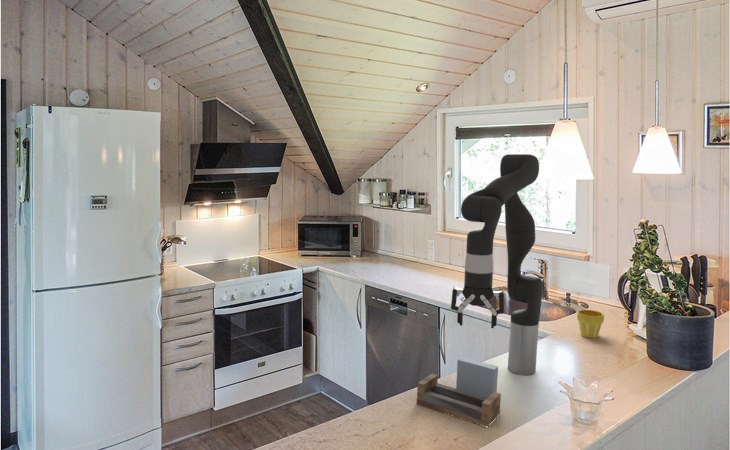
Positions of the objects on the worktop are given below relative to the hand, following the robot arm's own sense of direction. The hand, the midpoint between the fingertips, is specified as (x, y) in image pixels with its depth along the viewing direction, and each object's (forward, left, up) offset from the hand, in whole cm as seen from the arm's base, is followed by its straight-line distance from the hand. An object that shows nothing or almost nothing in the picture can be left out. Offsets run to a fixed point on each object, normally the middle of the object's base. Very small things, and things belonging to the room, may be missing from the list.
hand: (476, 326), depth 145 cm
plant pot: (-94, +10, -26) cm, 98 cm away
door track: (0, -5, -26) cm, 26 cm away
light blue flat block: (-13, -5, -26) cm, 30 cm away
